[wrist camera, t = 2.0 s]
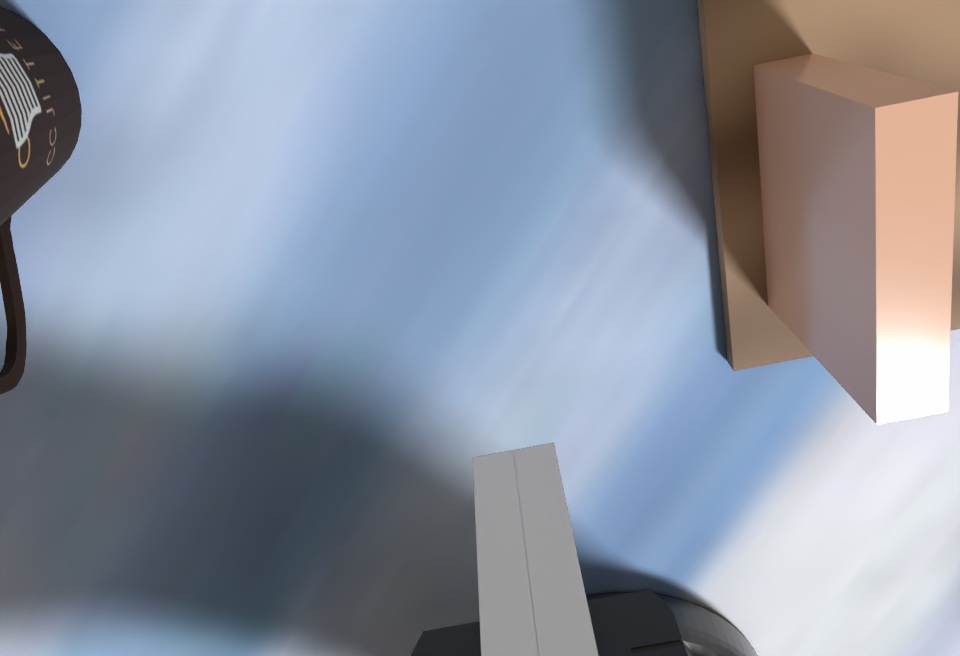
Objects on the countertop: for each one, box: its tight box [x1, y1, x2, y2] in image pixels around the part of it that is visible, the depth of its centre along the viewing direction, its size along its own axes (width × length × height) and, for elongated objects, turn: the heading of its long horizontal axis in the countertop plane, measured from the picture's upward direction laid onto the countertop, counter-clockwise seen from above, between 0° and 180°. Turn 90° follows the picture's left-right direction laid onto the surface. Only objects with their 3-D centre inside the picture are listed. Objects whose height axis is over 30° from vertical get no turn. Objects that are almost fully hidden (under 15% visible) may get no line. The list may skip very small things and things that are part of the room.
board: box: [697, 0, 960, 371], centre depth 30 cm, size 16×14×1 cm
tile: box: [753, 53, 958, 424], centre depth 26 cm, size 9×2×9 cm, turn 11°
